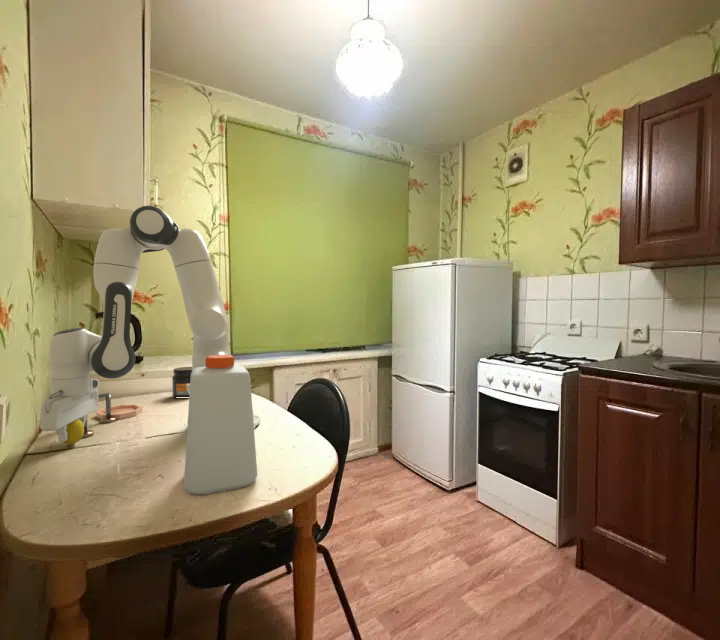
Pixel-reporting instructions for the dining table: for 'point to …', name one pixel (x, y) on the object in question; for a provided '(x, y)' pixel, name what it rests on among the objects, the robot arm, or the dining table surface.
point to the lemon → (74, 432)
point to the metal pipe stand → (104, 420)
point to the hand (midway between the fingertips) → (71, 436)
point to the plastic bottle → (219, 428)
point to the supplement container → (181, 381)
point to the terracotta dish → (121, 411)
